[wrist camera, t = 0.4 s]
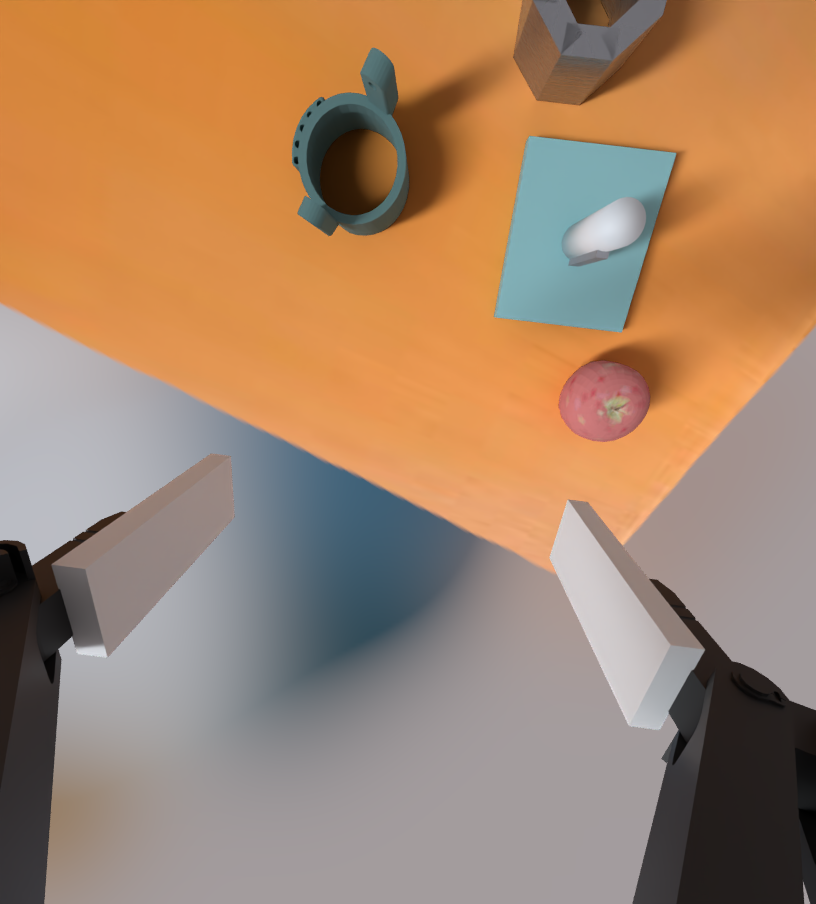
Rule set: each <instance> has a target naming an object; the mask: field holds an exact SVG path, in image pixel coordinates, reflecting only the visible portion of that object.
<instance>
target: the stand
mask: <svg viewBox="0 0 816 904" xmlns="http://www.w3.org/2000/svg"><path fill="white" fill-rule="evenodd" d="M675 156H676V153H672V152H664V151H655V150H646V149H638V148H629V147H621V146H612V145H603V144H595V143H586V142H578V141H569V140H560V139H552V138H543V137H534V136H529V138H528V139H527V141H526V145H525V150H524V155H523V161H522V166H521V172H520V177H519V183H518V188H517V194H516V199H515V204H514V210H513V215H512V221H511V226H510V232H509V237H508V243H507V248H506V254H505V259H504V264H503V270H502V275H501V281H500V286H499V292H498V297H497V303H496V308H495V314H494V317H497V318H505V319H514V320H522V321H531V322H539V323H547V324H556V325H564V326H572V327H581V328H589V329H598V330H606V331H614V332H622V330H623V327H624V323H625V320H626V317H627V314H628V310H629V307H630V304H631V301H632V297H633V294H634V291H635V287H636V284H637V281H638V278H639V274H640V271H641V268H642V265H643V261H644V258H645V255H646V251H647V248H648V245H649V242H650V238H651V235H652V232H653V228H654V225H655V222H656V219H657V215H658V212H659V209H660V206H661V202H662V199H663V196H664V192H665V189H666V186H667V183H668V179H669V176H670V173H671V170H672V166H673V163H674V160H675Z"/></svg>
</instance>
